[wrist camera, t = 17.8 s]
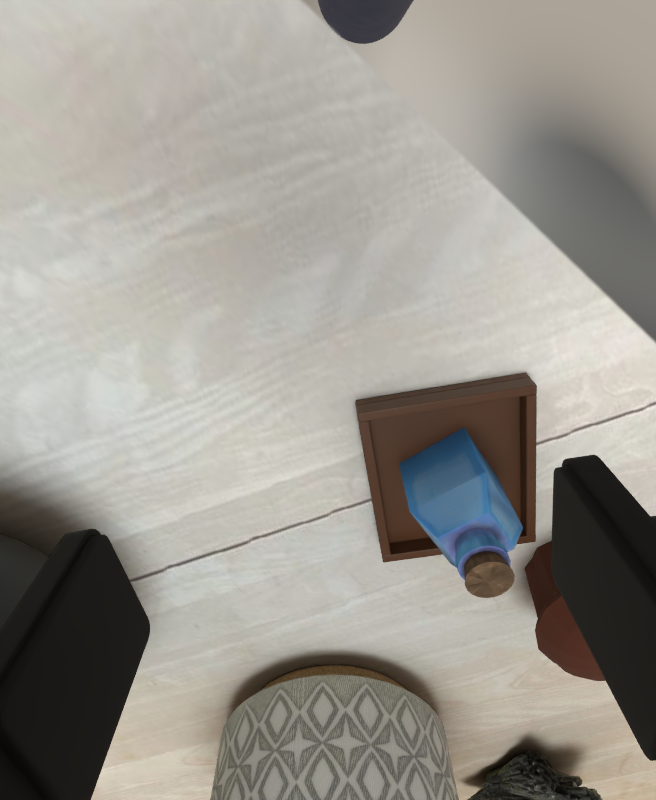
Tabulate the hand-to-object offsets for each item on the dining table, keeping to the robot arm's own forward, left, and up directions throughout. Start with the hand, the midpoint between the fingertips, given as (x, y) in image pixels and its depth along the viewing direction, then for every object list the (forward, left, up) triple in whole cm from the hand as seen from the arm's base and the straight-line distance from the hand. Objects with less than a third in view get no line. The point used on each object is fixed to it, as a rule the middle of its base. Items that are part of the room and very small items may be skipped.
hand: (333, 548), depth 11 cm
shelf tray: (+19, +7, -28) cm, 35 cm away
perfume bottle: (+19, +7, -28) cm, 34 cm away
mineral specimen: (+67, +13, -28) cm, 74 cm away
